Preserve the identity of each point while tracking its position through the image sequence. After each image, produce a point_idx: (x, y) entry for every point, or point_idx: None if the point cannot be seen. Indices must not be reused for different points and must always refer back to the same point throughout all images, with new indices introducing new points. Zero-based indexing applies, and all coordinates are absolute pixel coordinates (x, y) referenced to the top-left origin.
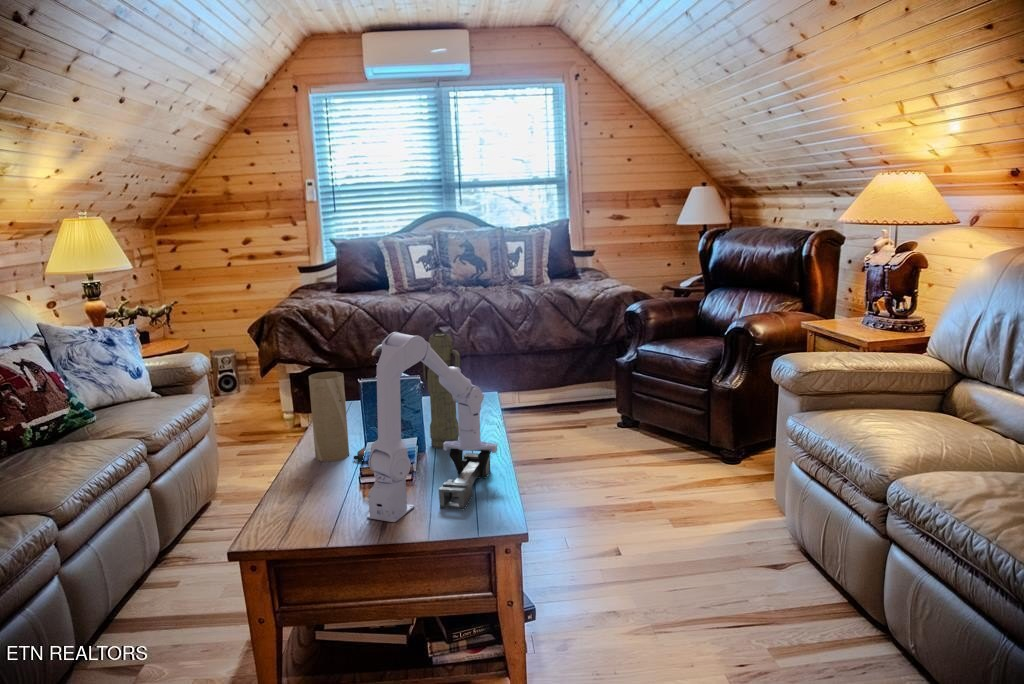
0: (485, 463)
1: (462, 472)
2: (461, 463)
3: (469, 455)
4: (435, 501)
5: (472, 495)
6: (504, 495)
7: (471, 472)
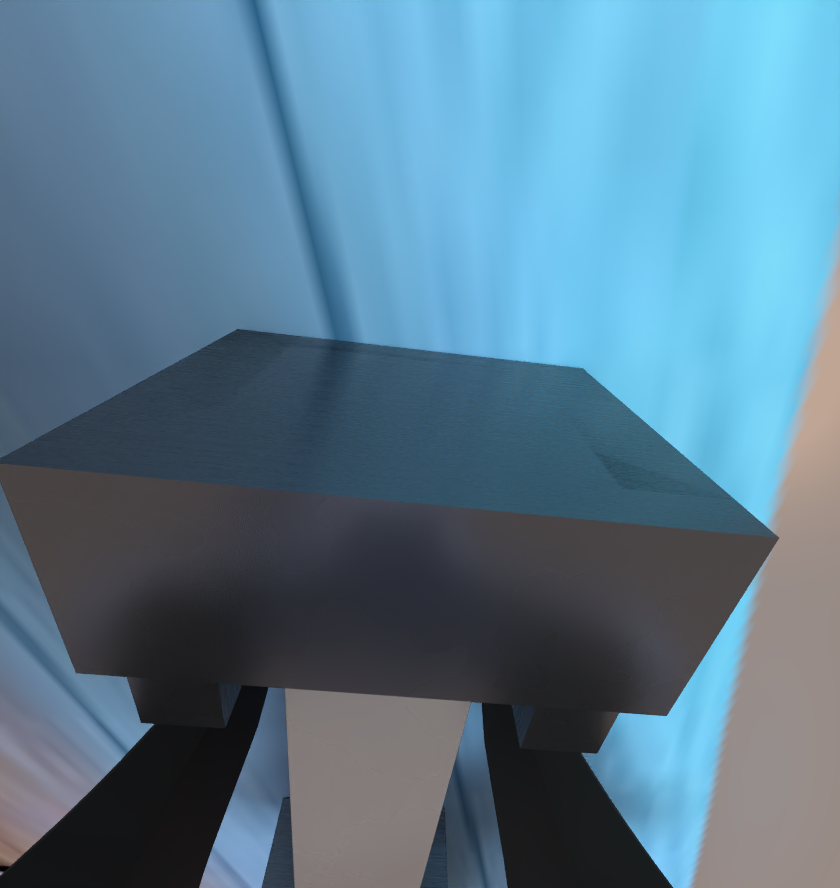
0: (592, 818)
1: (307, 875)
2: (194, 791)
3: (202, 635)
4: (229, 842)
5: (444, 820)
6: (660, 789)
7: (409, 875)
